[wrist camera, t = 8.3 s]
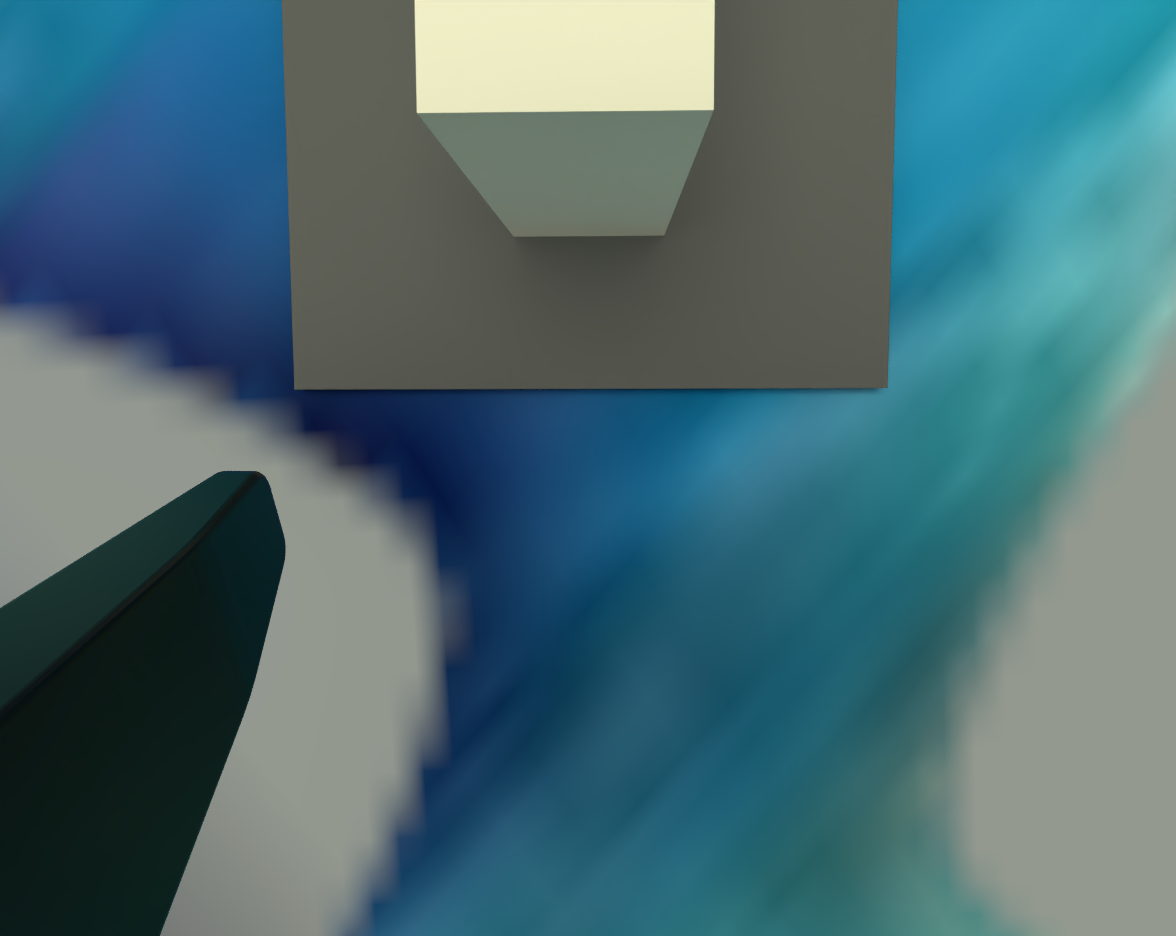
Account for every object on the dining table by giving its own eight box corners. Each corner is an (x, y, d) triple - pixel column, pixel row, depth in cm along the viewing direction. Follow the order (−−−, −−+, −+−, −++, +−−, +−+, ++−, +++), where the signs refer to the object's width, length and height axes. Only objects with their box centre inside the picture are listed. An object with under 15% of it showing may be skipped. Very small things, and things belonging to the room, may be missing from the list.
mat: (879, 387, 21) (887, 387, 20) (303, 388, 21) (294, 389, 21) (895, -232, 20) (904, -250, 19) (284, -221, 20) (274, -239, 19)
